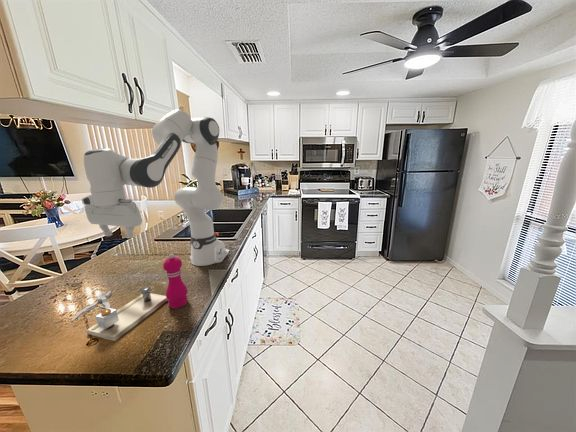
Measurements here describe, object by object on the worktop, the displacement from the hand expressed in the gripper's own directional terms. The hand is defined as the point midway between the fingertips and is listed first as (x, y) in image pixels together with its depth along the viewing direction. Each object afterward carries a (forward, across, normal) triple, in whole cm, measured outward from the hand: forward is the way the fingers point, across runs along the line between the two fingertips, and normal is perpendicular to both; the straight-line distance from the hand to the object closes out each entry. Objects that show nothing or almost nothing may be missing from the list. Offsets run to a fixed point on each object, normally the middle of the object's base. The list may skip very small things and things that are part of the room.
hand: (119, 236), depth 80 cm
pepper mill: (+26, -18, -2) cm, 32 cm away
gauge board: (+26, -8, +7) cm, 28 cm away
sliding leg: (+24, -7, +15) cm, 29 cm away
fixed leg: (+24, -8, +1) cm, 26 cm away
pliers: (+26, +10, +6) cm, 29 cm away
